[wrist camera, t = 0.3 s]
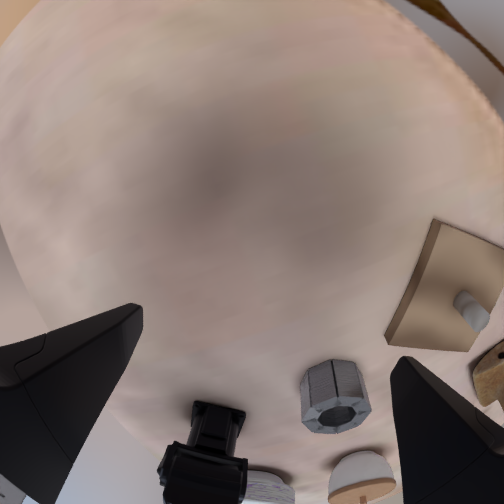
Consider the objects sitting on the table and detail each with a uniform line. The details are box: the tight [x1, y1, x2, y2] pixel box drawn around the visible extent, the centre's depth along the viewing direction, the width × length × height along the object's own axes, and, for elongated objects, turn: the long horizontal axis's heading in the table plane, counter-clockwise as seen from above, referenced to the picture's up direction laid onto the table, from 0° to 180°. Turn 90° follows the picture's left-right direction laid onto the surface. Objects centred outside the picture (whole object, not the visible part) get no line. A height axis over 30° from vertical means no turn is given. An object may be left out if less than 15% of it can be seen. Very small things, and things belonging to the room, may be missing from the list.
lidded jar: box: [328, 450, 396, 504], centre depth 29 cm, size 11×11×9 cm
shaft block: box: [384, 219, 504, 352], centre depth 19 cm, size 12×12×6 cm
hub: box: [300, 359, 372, 434], centre depth 24 cm, size 6×6×5 cm
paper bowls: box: [241, 470, 295, 504], centre depth 34 cm, size 15×15×8 cm
